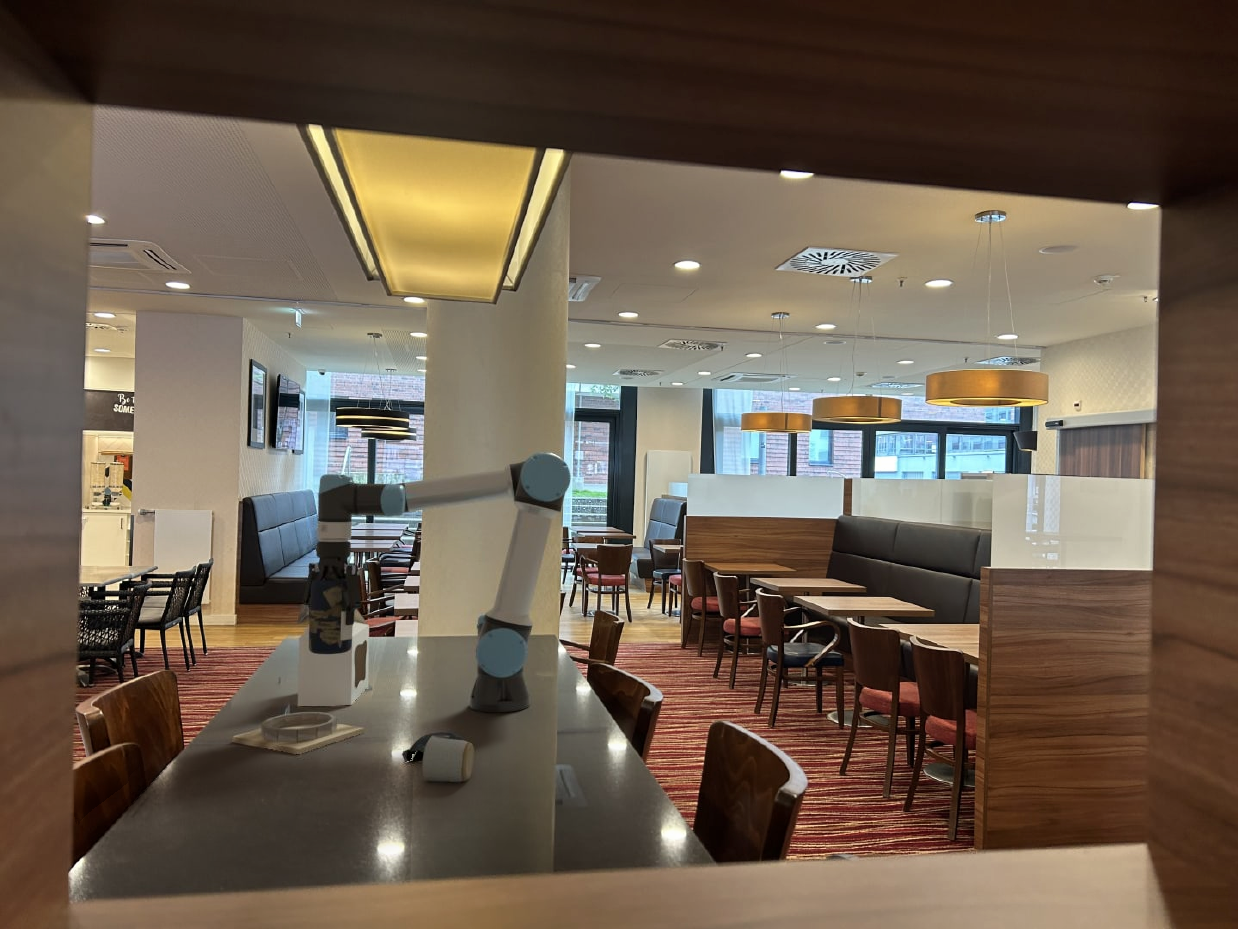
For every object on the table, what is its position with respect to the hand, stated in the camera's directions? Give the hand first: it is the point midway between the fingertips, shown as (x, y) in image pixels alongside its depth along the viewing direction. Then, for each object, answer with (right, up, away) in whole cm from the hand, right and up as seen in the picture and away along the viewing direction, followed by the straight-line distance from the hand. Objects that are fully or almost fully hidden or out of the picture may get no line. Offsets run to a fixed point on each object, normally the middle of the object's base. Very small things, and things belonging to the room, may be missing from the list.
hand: (330, 637), depth 190 cm
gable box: (-9, -22, +28) cm, 37 cm away
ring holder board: (-3, -20, -11) cm, 23 cm away
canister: (0, -4, 0) cm, 4 cm away
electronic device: (+29, -20, -21) cm, 41 cm away
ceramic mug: (+35, -19, -37) cm, 55 cm away
